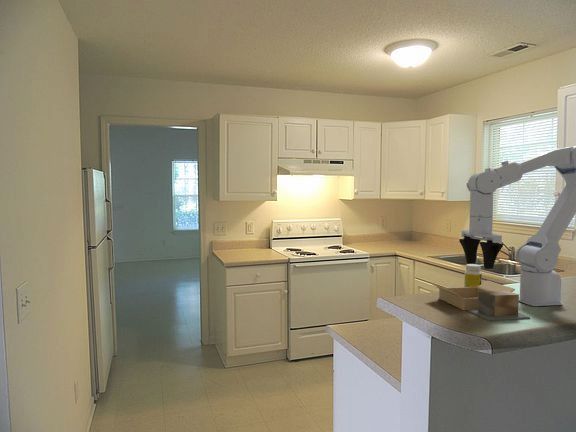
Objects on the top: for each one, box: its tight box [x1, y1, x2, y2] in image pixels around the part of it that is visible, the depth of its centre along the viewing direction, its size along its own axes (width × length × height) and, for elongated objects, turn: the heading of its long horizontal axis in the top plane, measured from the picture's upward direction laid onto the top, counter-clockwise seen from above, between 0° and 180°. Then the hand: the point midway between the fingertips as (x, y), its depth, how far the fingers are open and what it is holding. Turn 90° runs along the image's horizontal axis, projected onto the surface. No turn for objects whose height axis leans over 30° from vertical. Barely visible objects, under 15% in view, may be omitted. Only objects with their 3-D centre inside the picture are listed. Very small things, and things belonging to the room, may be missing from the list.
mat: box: [467, 309, 531, 322], centre depth 101 cm, size 11×8×1 cm
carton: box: [430, 280, 516, 311], centre depth 112 cm, size 18×12×5 cm, turn 100°
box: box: [478, 291, 520, 316], centre depth 101 cm, size 8×4×5 cm, turn 100°
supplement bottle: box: [463, 263, 483, 287], centre depth 124 cm, size 5×5×8 cm
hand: (479, 266), depth 113 cm, fingers open, 7 cm apart
